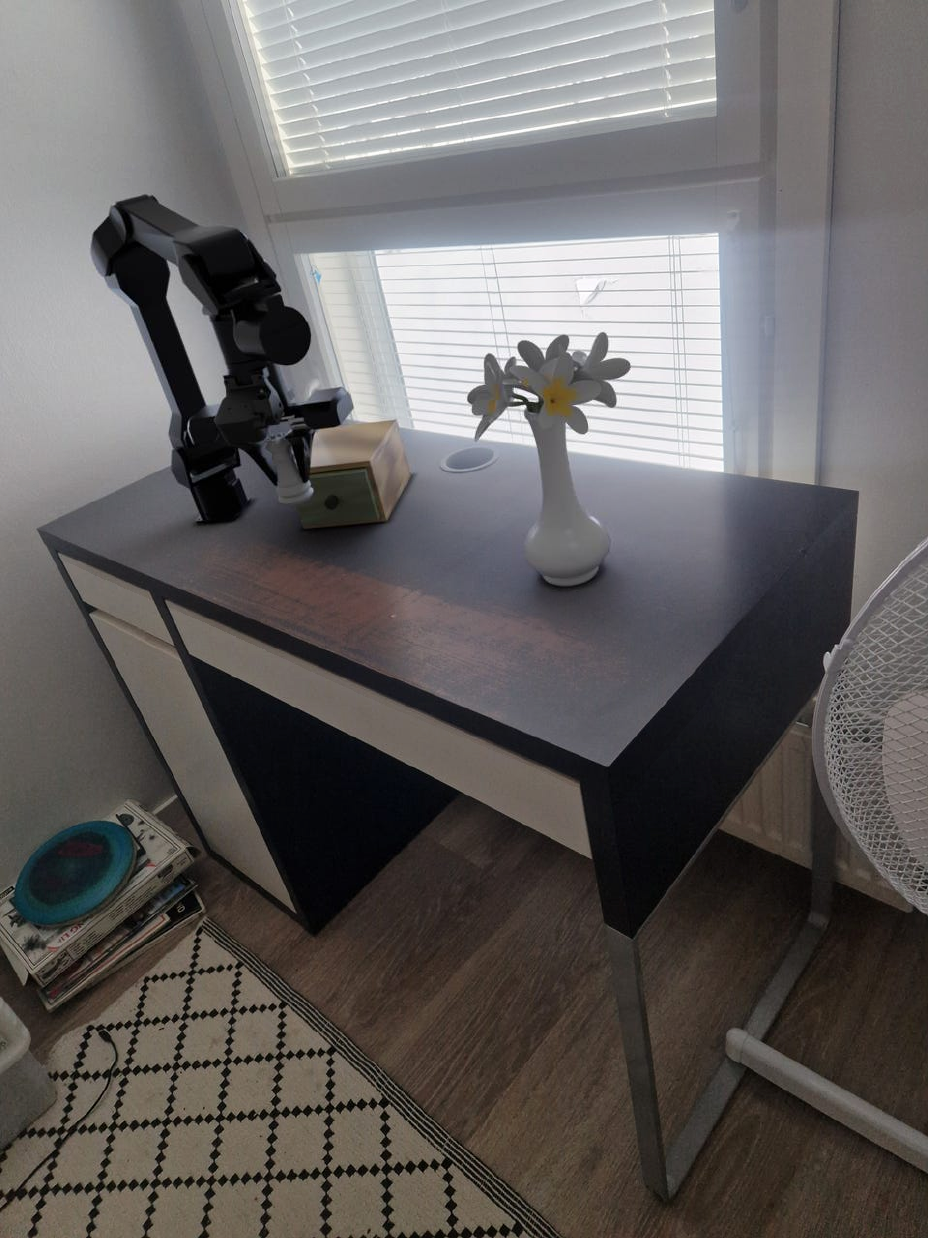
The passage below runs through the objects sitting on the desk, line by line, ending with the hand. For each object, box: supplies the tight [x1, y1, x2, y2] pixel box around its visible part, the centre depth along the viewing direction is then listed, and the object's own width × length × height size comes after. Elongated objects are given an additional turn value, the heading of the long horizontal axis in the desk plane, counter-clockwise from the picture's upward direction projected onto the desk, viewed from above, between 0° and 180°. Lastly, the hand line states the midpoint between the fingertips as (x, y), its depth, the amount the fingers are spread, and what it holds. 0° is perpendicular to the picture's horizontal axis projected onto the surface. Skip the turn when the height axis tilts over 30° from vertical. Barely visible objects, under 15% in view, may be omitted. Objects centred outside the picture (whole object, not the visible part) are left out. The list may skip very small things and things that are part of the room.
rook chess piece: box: [266, 432, 314, 506], centre depth 101 cm, size 4×4×8 cm
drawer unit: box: [295, 419, 412, 530], centre depth 119 cm, size 14×12×9 cm
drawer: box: [295, 467, 381, 528], centre depth 117 cm, size 14×11×7 cm
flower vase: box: [466, 331, 632, 587], centre depth 87 cm, size 13×18×25 cm
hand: (292, 483), depth 103 cm, fingers closed on rook chess piece, 3 cm apart
